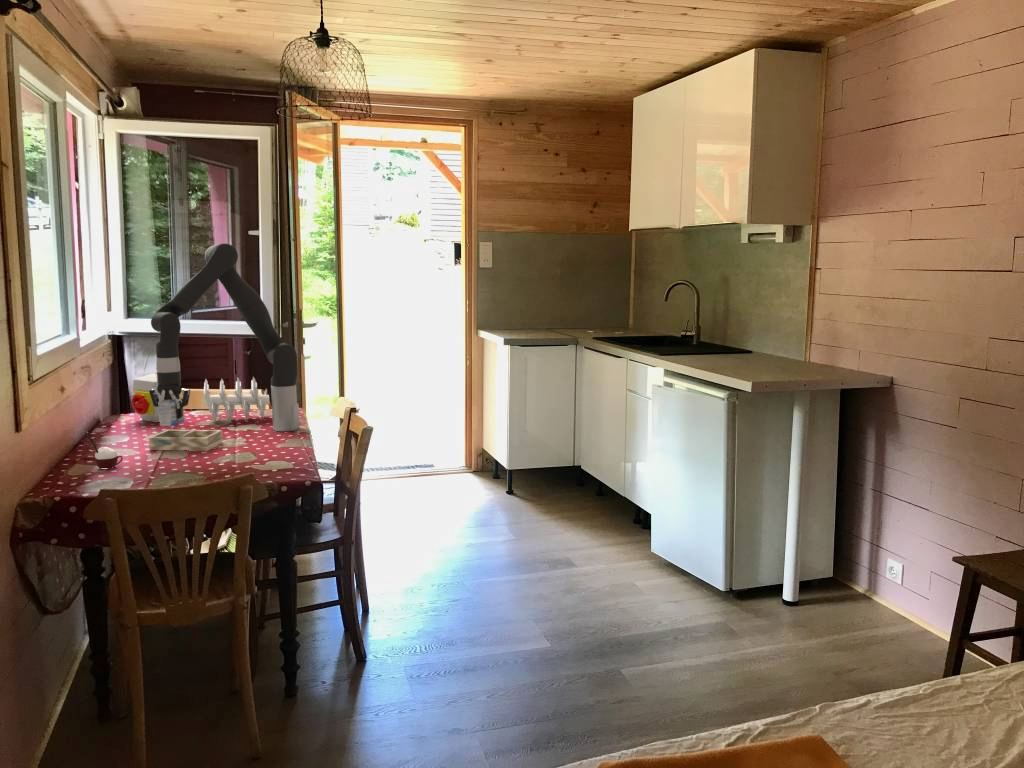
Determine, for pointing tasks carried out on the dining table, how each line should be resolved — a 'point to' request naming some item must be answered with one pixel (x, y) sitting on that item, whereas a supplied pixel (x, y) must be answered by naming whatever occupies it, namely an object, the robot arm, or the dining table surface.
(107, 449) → the cocoa
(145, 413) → the electrical switch box
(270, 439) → the dining table surface
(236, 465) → the dining table surface
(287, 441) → the dining table surface
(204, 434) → the rack
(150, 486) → the dining table surface
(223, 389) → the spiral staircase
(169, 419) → the medicine box
